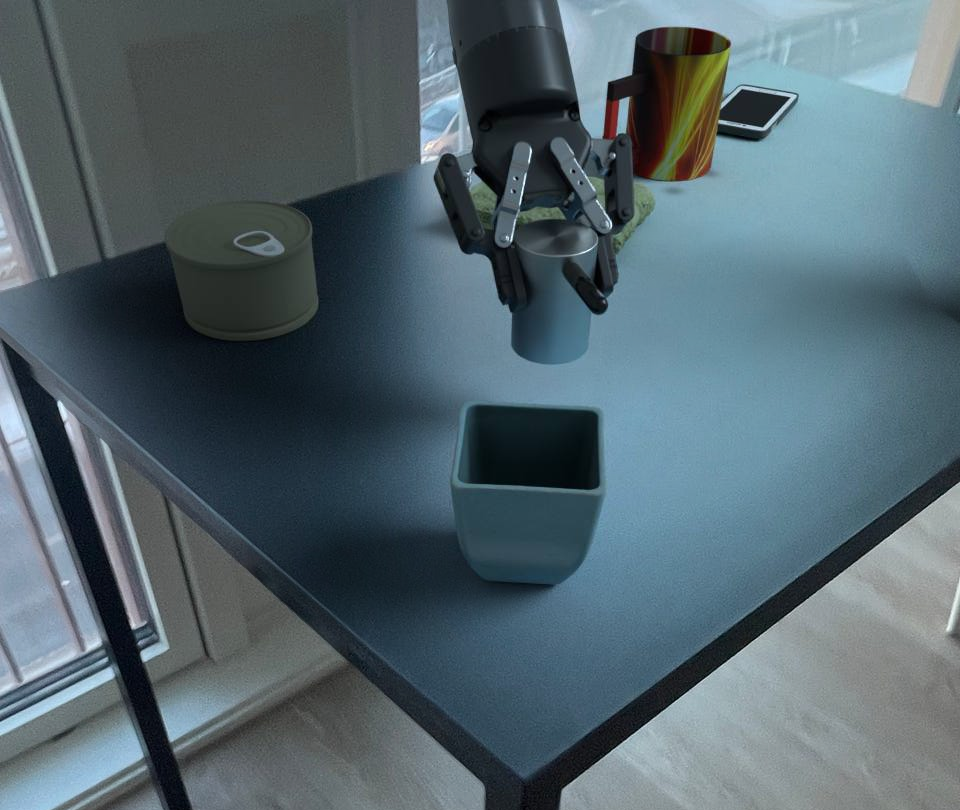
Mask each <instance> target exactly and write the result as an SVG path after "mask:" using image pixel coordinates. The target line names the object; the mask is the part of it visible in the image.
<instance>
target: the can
mask: <svg viewBox="0 0 960 810" xmlns="http://www.w3.org/2000/svg"><path fill="white" fill-rule="evenodd" d="M312 238H313V224H312V222H311V220H310V218H309V217H308V216H307V215H306V214H305V213H303V212H302V211H300V210H299V209H297V208H295V207H292V206H289V205H287V204H283V203H279V202H275V201H274V202H273V201H268V200H253V199H252V200H249V199H248V200H246V199H245V200H244V199H243V200H231V201H225V202H223V201H222V202H219V203H214V204H209V205H205V206H202V207H199V208H196V209H193V210H191V211H189V212H187V213H185V214H183V215H182V216H180V217H178V218H177V219H175V220H174V221H173V222H171V224H170V225H169V226H168V227H167V228H166V231H165V234H164V244H165V247H166V249H167V251H168V252H169V256H170V259H171V263H172V267H173V271H174V276H175V280H176V283H177V284H176V285H177V288H178V292H179V296H180V300H181V305H182V309H183V315H184V318H185V320H186V322H187V325H189V326H190V327H191V329H193V330H194V331H196V332H197V333H199V334H201V335H203V336H206V337H209V338H212V339H217V340H222V341H229V342H255V341H263V340H269V339H273V338H277V337H280V336H283V335H286V334H289V333H292V332H294V331H296V330H298V329H299V328H301V327H303V326H304V325H306V324H307V323H308V322H309V321H311V320H312V319H313V317H314V316H315V315H316V314H317V311H318V310H319V295H318V288H317V279H316V269H315V260H314V250H313V243H312V242H313V241H312Z"/></svg>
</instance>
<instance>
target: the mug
mask: <svg viewBox="0 0 960 810" xmlns="http://www.w3.org/2000/svg"><path fill="white" fill-rule="evenodd" d="M731 41H732V40H731V39H730V38H728V36H726V35H724V34H721V33H719V32H717V31H713V30H710V29H705V28H699V27H690V26H662V27H655V28H650V29H649V28H648V29H646V30H644V31H641V32H639V33H638V34H637V35H636V36H635V40H634V49H633V60H632V69H631V74H629V75H626V76H622V77H620V78H617V79H614V80H611V81H607V89H606V100H605V112H604V123H603V133H602V134H603V135H602V138H601V139H609V140H614V139H615V138H616V136H617V132H618V123H619V113H620V101H621V100H624V99H627V98H628V109H627V118H626V128H625V134H627V135H628V136H629V137H630V138H631V141H632V162H633V175H637V176H639V177H642V178H646V179H650V180H654V181H663V182H664V181H665V182H683V181H690V180H694V179H697V178H700V177H703V176H705V175H706V174H708V173H709V172H710V170H711V168H712V163H713V156H714V151H715V144H716V138H717V134H718V132H717V127H718V121H719V115H720V109H721V103H722V100H723V97H724V96H723V95H724V89H725V85H726V78H727V72H728V65H729V60H730V54H731V48H732V42H731Z"/></svg>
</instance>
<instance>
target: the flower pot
mask: <svg viewBox="0 0 960 810" xmlns="http://www.w3.org/2000/svg"><path fill="white" fill-rule="evenodd" d="M604 414H605V413H604V411H603V409H601V408H600V407H599V406H588V405H567V404H565V405H564V404H547V403H546V404H543V403H526V402H508V401H507V402H506V401H489V400H488V401H487V400H485V401H484V400H482V401H481V400H468V401H464V402H463V403H462V404H461V405H460V408H459V416H458V425H457V434H456V441H455V449H454V454H453V459H452V467H451V472H450V473H451V474H450V480H449V485H450V492H451V493H450V494H451V500H452V501H451V502H452V508H453V514H454V522H455V528H456V535H457V540H458V543H459V546H460V551H461V553H462V554H463V557H464V559H465V561H466V562H467V564H468V565H469V566H470V567H471V569H472V570H473V571H474V572H475V573H476V574H477V575H478V576H479V577H480V578H481V579H483V580H485V581H487V582H499V583H501V582H502V583H520V584H521V583H525V584H535V585H536V584H537V585H560V584H562V583H563V582H566V580H568V579H570V577H572V576H573V575H574V574H575V573H576V572H577V571H578V570H579V569H580V567H581V566H582V565H583V563H584V562H585V560H586V558H587V556H588V554H589V552H590V551H591V547H592V545H593V541H594V538H595V535H596V532H597V528H598V525H599V521H600V517H601V514H602V509H603V505H604V501H605V499H606V494H607V490H608V486H607V485H608V484H607V482H608V481H607V472H606V471H607V470H606V469H607V468H606V455H605V453H606V451H605V415H604Z"/></svg>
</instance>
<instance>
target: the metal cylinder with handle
mask: <svg viewBox="0 0 960 810" xmlns="http://www.w3.org/2000/svg"><path fill="white" fill-rule="evenodd" d="M597 246H598V236H597V234H596V233H595V231H594V230H593V229H591V228H590V227H588V226H586V225H584V224H582V223H579V222H575V221H571V220H564V219H543V220H537V221H533V222H530V223H527V224H525V225H523V226H521V227H520V228H519V229H518V230H517V231H516V233H515V236H514V242H513V248H516V249H517V253H518V257H519V262H520V267H521V271H522V276H523V281H524V286H525V291H526V295H527V305H526V306H525V307H524V309H523V310H522V311H521V312H514V313H511V326H510V327H511V328H510V329H511V330H510V331H511V333H510V345H511V349H512V351H513V352H514V353H515V354H516V355H517V356H519V357H520V358H522V359H523V360H526V361H528V362H531V363H535V364H538V365H547V366H549V365H550V366H551V365H552V366H554V365H564V364H568V363H569V364H570V363H572V362H574V361H576V360H580V358H582V357H583V356H584V355H586V352H587V351H588V349H589V343H590V342H589V341H590V333H591V332H590V331H591V321H592V314H593V315H595V316H602V315H604V314H605V313H606V312H607V311H608V309H609V301H608V299H607V298H605V296H604V295H603V294H602V293H601V292H600V290H599V289H598V288H597V287H596V285H595V284H594V279H595V268H596V257H597Z"/></svg>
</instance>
